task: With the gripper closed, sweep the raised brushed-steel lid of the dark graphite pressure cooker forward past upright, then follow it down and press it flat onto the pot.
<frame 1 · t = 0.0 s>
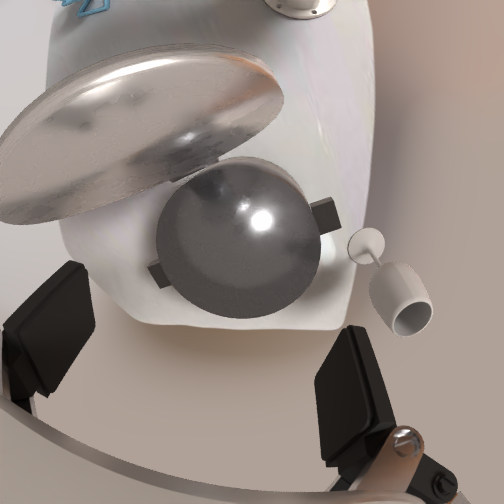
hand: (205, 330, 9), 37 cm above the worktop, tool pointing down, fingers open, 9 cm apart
lid: (137, 146, 19), point 24 cm above the worktop, hinge at 104.0°
cooker: (244, 221, 47), on the worktop
wineglass: (366, 245, 48), on the worktop
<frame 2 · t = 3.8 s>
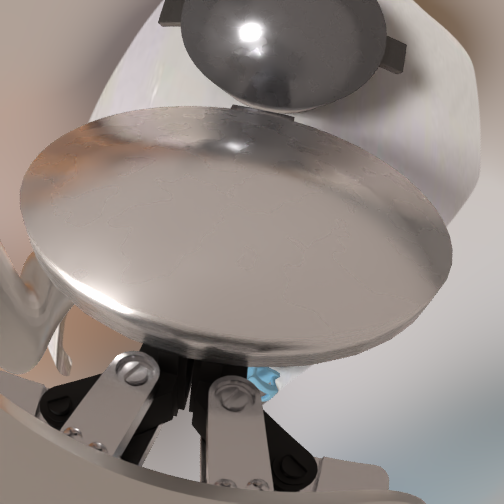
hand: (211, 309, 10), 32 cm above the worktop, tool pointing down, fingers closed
light blue angular piece: (257, 350, 55), on the worktop
lid: (246, 167, 16), point 24 cm above the worktop, hinge at 102.1°, touching gripper
cooker: (281, 44, 31), on the worktop
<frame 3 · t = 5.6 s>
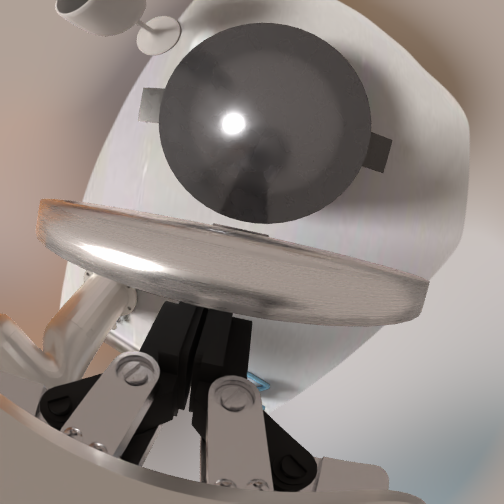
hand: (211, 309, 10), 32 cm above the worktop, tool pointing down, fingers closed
light blue angular piece: (246, 384, 61), on the worktop
lid: (230, 256, 18), point 24 cm above the worktop, hinge at 68.2°, touching gripper
cooker: (266, 121, 36), on the worktop
wineglass: (158, 35, 30), on the worktop
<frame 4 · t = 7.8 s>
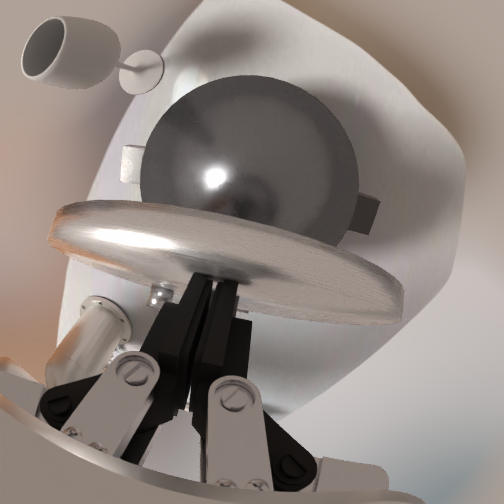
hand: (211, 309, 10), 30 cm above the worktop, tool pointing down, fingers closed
lid: (218, 301, 19), point 22 cm above the worktop, hinge at 49.6°
cooker: (252, 169, 37), on the worktop
wineglass: (141, 72, 31), on the worktop
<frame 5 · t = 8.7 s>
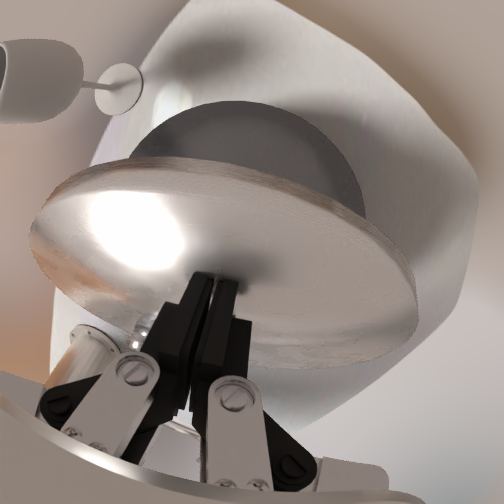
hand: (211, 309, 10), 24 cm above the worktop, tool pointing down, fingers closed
lid: (209, 337, 17), point 20 cm above the worktop, hinge at 32.5°
cooker: (244, 201, 33), on the worktop
wineglass: (118, 89, 27), on the worktop
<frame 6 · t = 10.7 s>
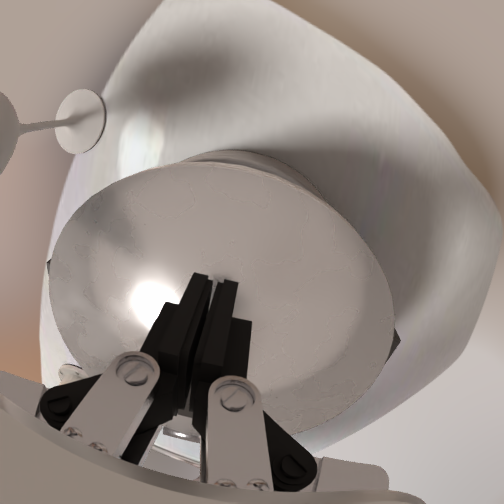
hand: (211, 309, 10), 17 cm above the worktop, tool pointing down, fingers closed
lid: (203, 374, 16), point 14 cm above the worktop, hinge at -0.2°
cooker: (231, 260, 28), on the worktop
wineglass: (79, 121, 22), on the worktop
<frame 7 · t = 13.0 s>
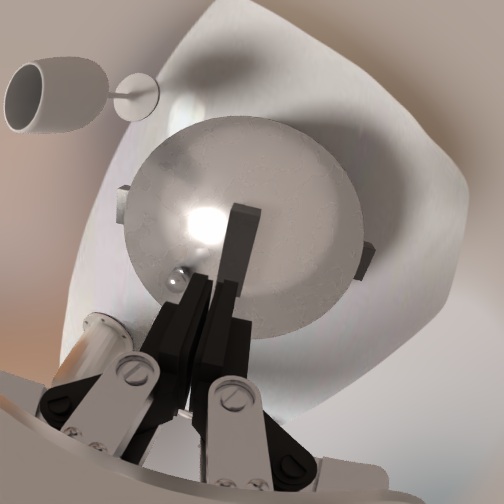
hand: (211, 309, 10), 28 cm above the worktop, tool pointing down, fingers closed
lid: (235, 257, 25), point 14 cm above the worktop, hinge at -0.2°
cooker: (250, 203, 37), on the worktop
wineglass: (136, 97, 31), on the worktop
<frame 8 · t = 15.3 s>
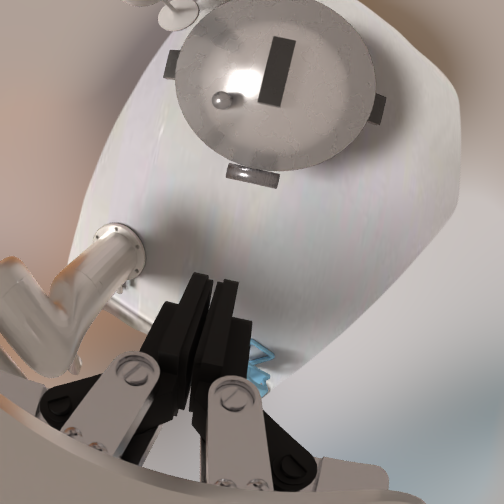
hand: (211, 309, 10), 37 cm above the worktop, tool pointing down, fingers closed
light blue angular piece: (251, 354, 63), on the worktop
lid: (274, 80, 26), point 14 cm above the worktop, hinge at -0.2°
cooker: (274, 88, 38), on the worktop
wineglass: (178, 14, 32), on the worktop
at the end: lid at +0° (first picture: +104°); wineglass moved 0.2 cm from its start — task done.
